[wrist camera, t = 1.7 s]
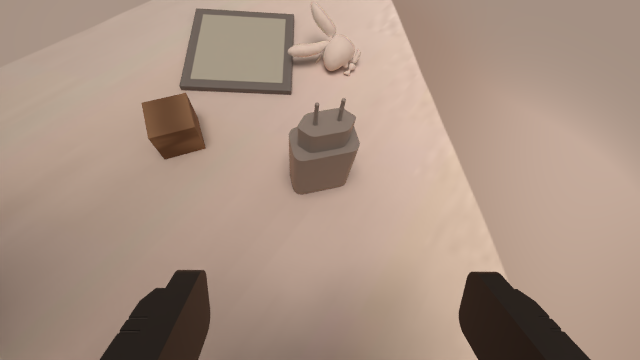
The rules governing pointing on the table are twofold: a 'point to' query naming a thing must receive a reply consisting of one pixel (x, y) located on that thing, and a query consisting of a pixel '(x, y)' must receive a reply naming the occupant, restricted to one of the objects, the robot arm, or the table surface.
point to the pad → (239, 52)
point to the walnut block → (173, 126)
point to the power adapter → (322, 149)
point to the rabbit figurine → (328, 44)
